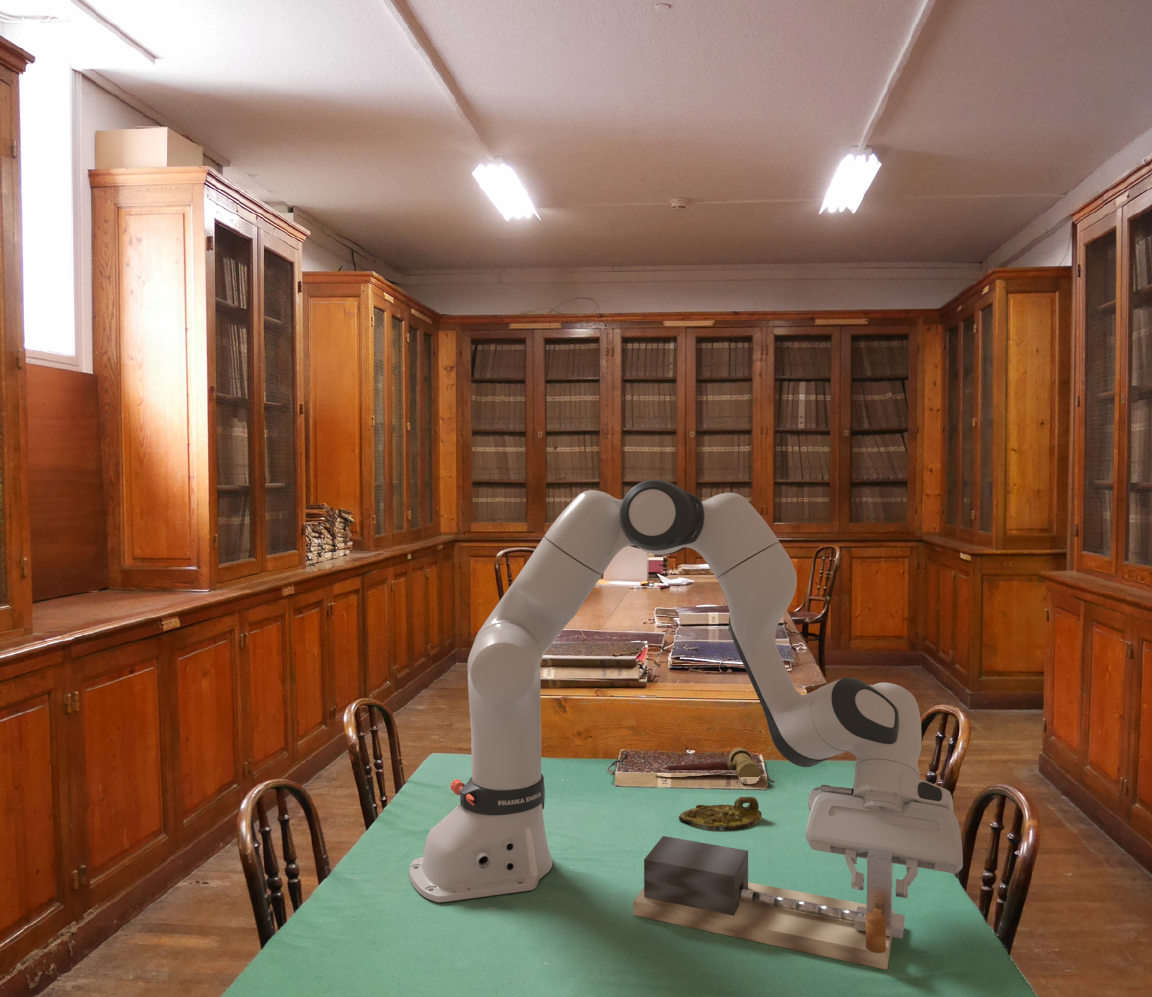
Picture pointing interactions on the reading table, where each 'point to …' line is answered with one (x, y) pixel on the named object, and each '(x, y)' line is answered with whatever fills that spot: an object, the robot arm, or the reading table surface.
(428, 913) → the reading table surface
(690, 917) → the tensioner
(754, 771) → the gavel
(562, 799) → the reading table surface
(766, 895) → the chain end
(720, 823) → the seal
